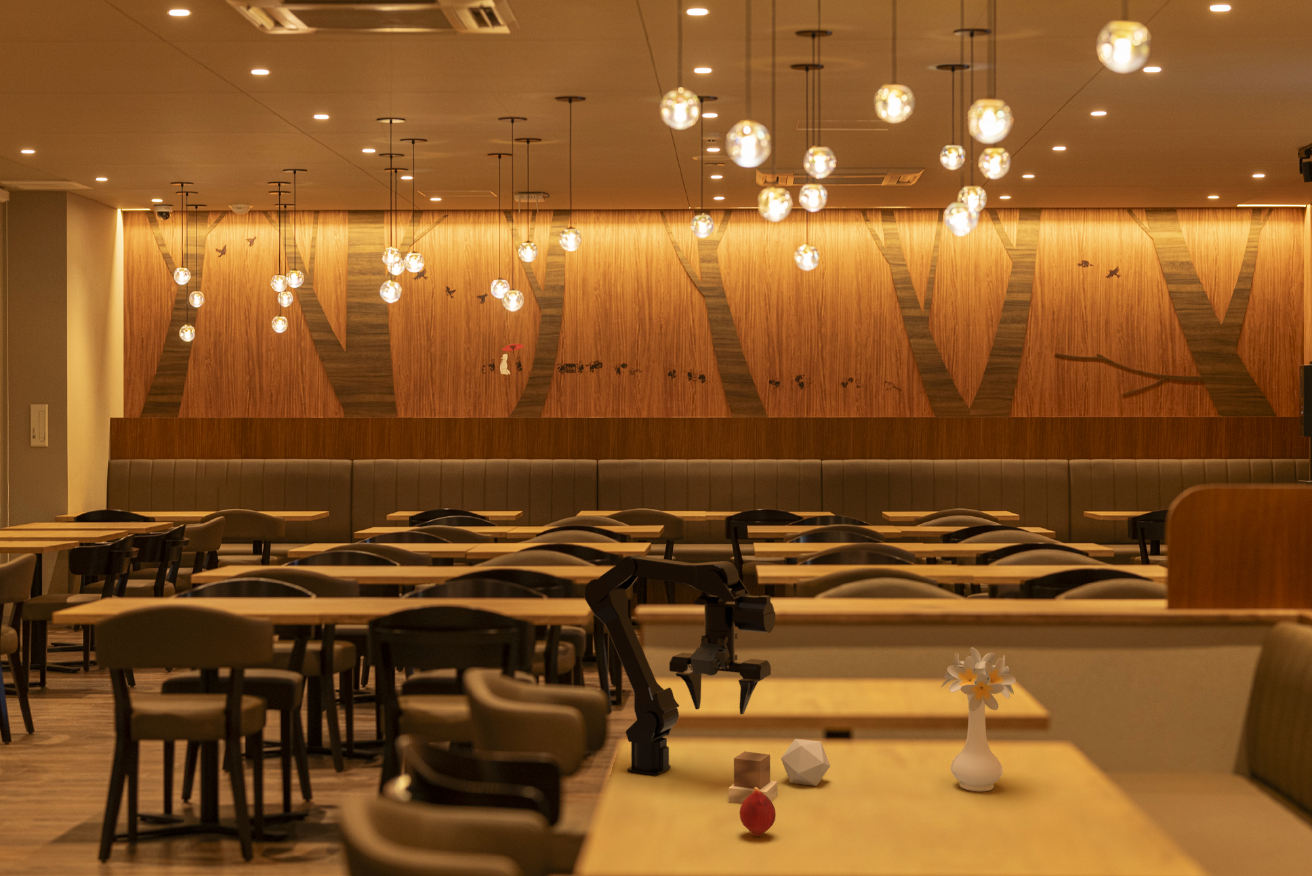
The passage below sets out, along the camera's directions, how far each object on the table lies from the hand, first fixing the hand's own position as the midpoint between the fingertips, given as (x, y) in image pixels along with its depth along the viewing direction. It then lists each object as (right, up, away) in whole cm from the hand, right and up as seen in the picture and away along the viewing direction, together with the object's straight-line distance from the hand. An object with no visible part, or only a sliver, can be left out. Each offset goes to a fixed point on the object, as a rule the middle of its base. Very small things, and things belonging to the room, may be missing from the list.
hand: (719, 711), depth 243 cm
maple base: (+5, -14, -12) cm, 19 cm away
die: (+16, -13, -1) cm, 21 cm away
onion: (+5, -14, -32) cm, 36 cm away
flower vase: (+48, -13, -5) cm, 50 cm away
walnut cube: (+5, -11, -12) cm, 16 cm away
